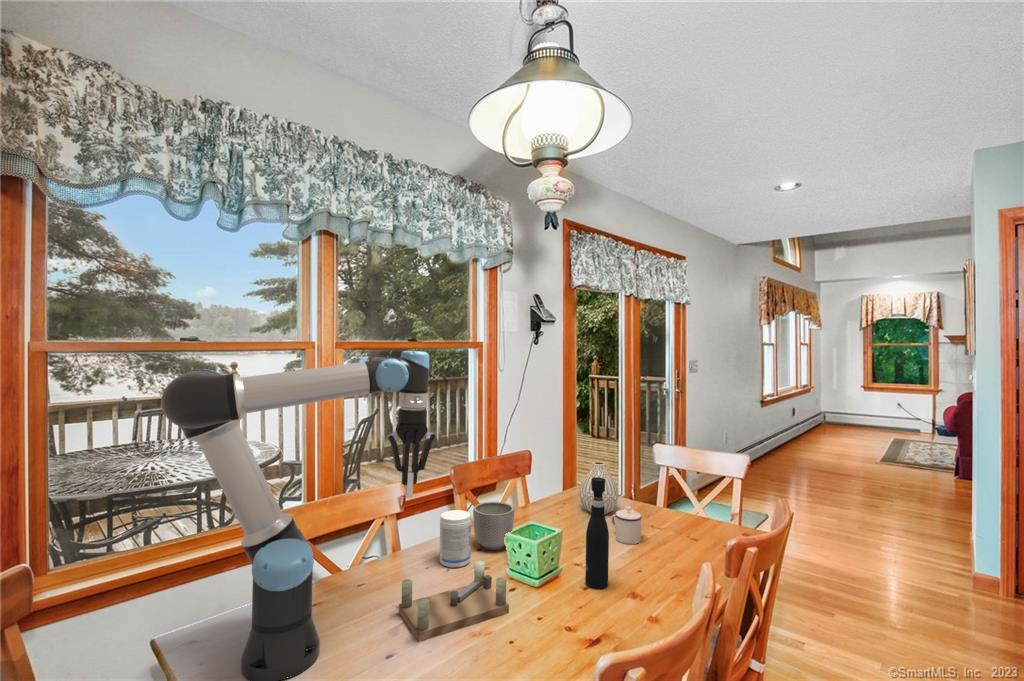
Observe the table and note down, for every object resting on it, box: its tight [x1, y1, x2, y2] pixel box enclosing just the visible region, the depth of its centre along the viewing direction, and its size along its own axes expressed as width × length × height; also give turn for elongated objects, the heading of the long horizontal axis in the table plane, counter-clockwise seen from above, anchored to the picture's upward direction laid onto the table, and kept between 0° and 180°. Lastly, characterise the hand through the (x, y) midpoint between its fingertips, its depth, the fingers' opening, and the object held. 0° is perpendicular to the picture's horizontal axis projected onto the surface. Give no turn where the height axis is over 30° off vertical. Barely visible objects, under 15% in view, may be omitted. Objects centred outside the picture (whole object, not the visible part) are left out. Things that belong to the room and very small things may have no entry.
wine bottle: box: [584, 477, 610, 590], centre depth 139 cm, size 6×6×30 cm
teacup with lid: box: [610, 505, 643, 545], centre depth 172 cm, size 12×9×12 cm
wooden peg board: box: [398, 574, 510, 642], centre depth 123 cm, size 24×14×8 cm, turn 122°
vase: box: [578, 460, 619, 516], centre depth 200 cm, size 16×16×20 cm
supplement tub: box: [439, 509, 472, 569], centre depth 152 cm, size 10×10×15 cm
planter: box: [472, 501, 515, 552], centre depth 164 cm, size 14×14×13 cm
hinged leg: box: [458, 560, 486, 601], centre depth 130 cm, size 12×3×6 cm, turn 152°
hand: (408, 496), depth 130 cm, fingers closed
